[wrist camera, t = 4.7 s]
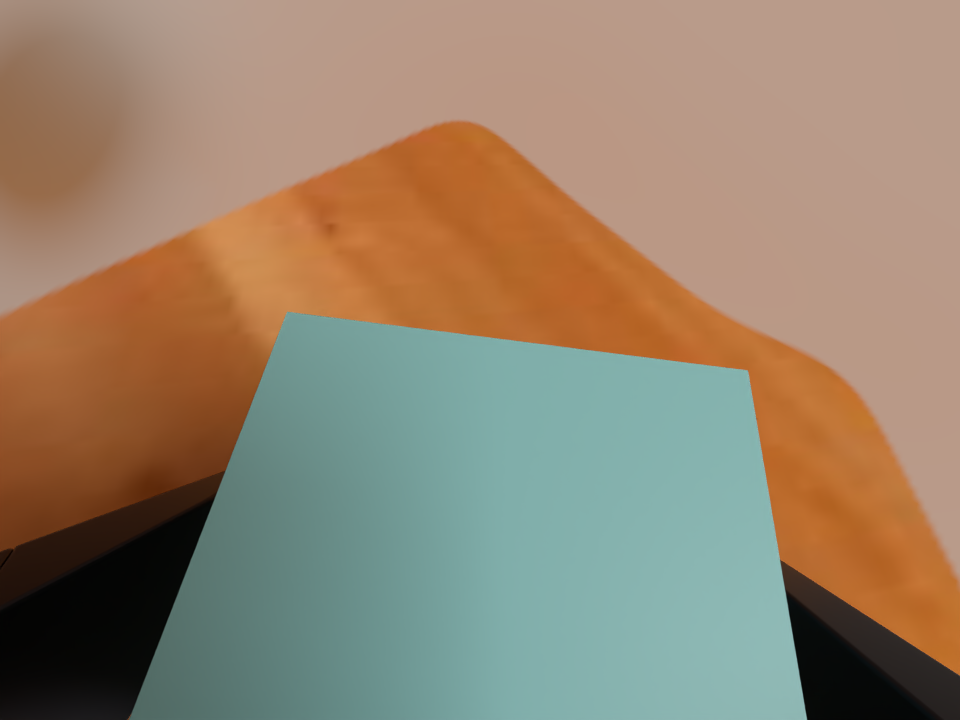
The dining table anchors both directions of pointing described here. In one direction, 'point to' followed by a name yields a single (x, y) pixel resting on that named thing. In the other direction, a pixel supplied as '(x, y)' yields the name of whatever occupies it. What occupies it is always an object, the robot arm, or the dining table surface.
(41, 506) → the dining table surface
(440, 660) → the teal block
